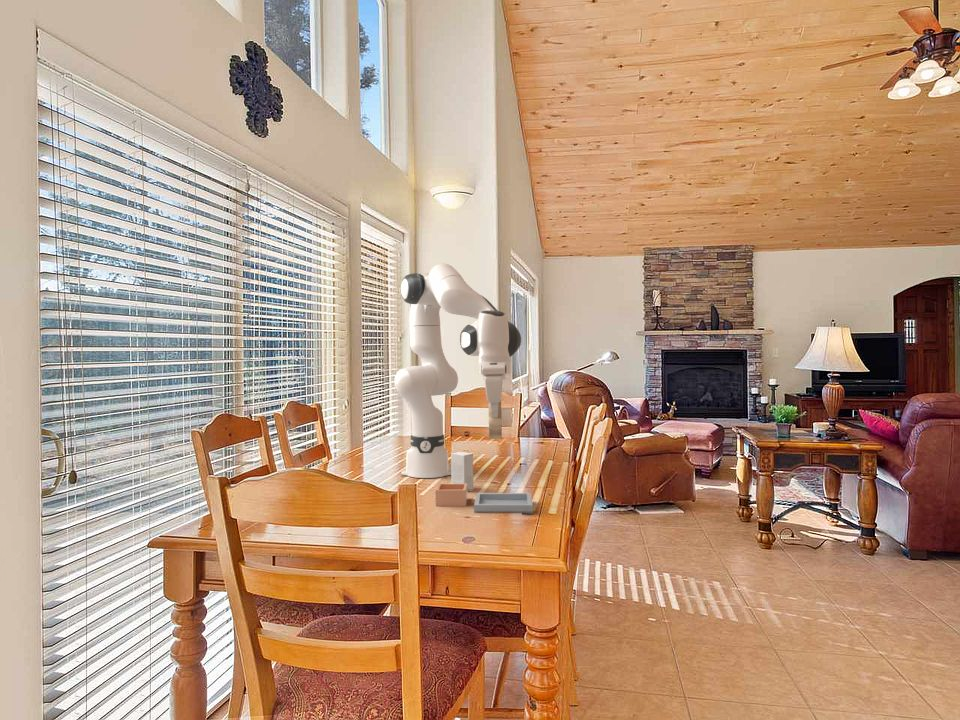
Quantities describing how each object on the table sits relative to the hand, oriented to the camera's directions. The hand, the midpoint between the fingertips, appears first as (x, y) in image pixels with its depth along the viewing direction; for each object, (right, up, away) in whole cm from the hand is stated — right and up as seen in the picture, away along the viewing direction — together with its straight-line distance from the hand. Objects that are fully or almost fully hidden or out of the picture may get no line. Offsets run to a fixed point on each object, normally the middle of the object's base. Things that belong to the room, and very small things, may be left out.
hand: (495, 416), depth 179 cm
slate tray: (+2, -26, 0) cm, 26 cm away
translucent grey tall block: (0, -6, 0) cm, 6 cm away
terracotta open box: (-12, -26, +5) cm, 29 cm away
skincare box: (-10, -26, +21) cm, 35 cm away
